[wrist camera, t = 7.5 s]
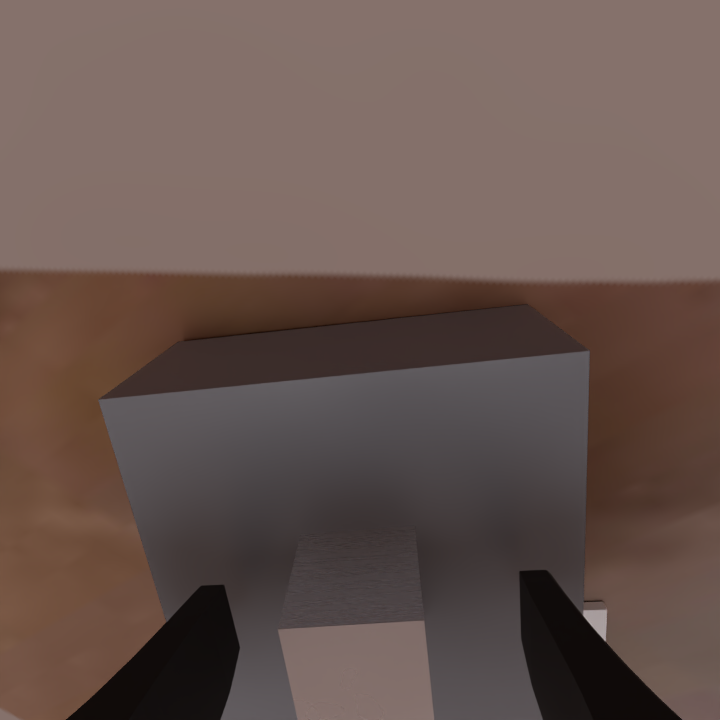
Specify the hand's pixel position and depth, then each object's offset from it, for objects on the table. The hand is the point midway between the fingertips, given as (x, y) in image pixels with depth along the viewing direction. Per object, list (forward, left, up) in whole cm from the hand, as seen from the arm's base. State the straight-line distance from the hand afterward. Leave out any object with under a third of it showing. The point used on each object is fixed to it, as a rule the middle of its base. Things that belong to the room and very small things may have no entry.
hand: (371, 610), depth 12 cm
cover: (+1, 0, -6) cm, 6 cm away
